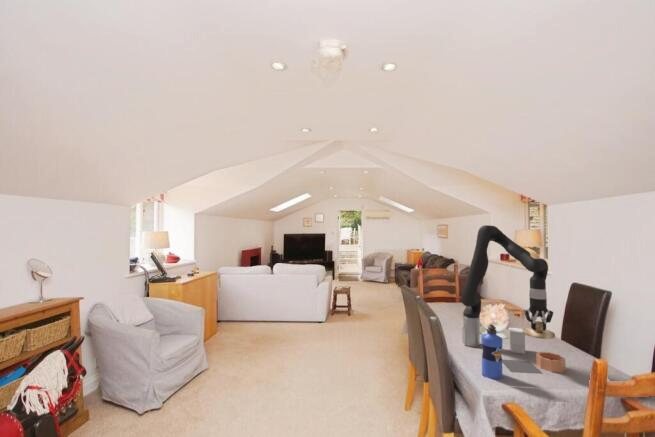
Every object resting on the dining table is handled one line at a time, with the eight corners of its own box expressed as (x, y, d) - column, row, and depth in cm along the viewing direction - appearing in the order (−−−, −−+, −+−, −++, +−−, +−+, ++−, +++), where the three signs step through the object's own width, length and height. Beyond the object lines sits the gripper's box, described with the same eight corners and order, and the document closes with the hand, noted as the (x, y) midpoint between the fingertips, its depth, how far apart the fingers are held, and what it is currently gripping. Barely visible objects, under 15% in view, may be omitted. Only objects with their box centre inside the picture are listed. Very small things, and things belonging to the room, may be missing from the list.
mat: (510, 372, 166) (510, 371, 166) (499, 360, 181) (499, 359, 181) (543, 374, 164) (543, 373, 164) (529, 361, 179) (529, 360, 179)
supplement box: (522, 349, 195) (522, 328, 196) (525, 354, 188) (525, 332, 188) (508, 348, 198) (508, 327, 198) (510, 352, 191) (510, 331, 191)
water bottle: (477, 373, 165) (477, 323, 166) (490, 370, 169) (490, 321, 169) (493, 381, 157) (493, 329, 157) (507, 378, 161) (506, 326, 161)
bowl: (544, 372, 166) (543, 360, 166) (532, 362, 178) (532, 351, 178) (569, 373, 165) (569, 361, 165) (556, 363, 176) (556, 352, 176)
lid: (530, 338, 165) (529, 325, 165) (518, 329, 179) (518, 317, 179) (560, 339, 163) (560, 326, 163) (546, 330, 177) (546, 318, 177)
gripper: (526, 298, 169) (527, 332, 169) (556, 299, 167) (557, 333, 166) (520, 295, 176) (520, 327, 176) (549, 295, 174) (550, 328, 174)
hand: (538, 330), depth 171 cm, fingers closed on lid, 4 cm apart
